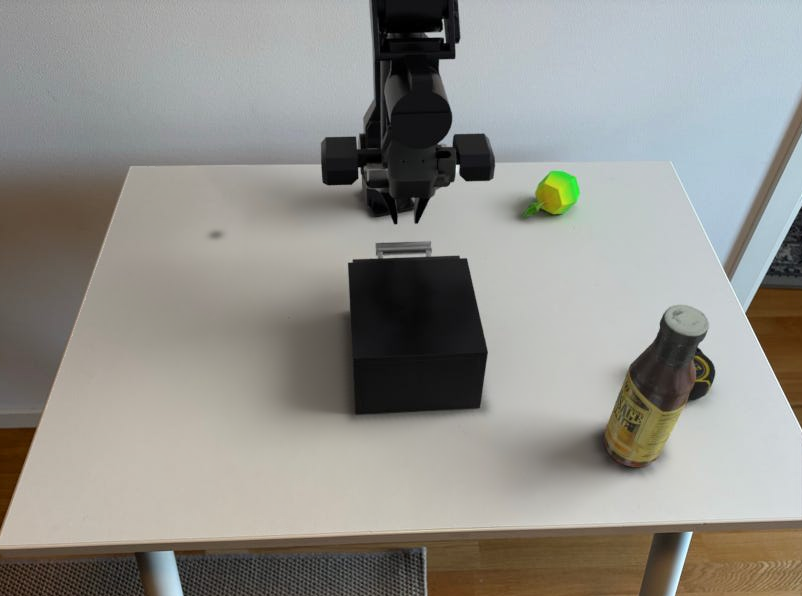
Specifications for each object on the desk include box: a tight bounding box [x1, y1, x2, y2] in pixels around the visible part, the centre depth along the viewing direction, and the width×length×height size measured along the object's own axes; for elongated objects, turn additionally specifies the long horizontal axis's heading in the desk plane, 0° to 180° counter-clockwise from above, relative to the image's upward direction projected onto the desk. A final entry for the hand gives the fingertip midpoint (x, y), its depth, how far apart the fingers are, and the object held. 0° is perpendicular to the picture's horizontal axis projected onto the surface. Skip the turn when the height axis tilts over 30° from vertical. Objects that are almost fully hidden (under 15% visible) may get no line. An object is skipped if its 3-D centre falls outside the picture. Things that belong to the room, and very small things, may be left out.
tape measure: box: [687, 346, 716, 402], centre depth 86 cm, size 7×7×4 cm
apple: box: [522, 170, 581, 218], centre depth 109 cm, size 7×6×9 cm
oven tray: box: [352, 240, 461, 262], centre depth 89 cm, size 19×13×7 cm
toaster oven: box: [347, 257, 489, 416], centre depth 86 cm, size 16×14×9 cm
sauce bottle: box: [603, 304, 710, 468], centre depth 74 cm, size 7×6×20 cm
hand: (405, 222), depth 88 cm, fingers closed
